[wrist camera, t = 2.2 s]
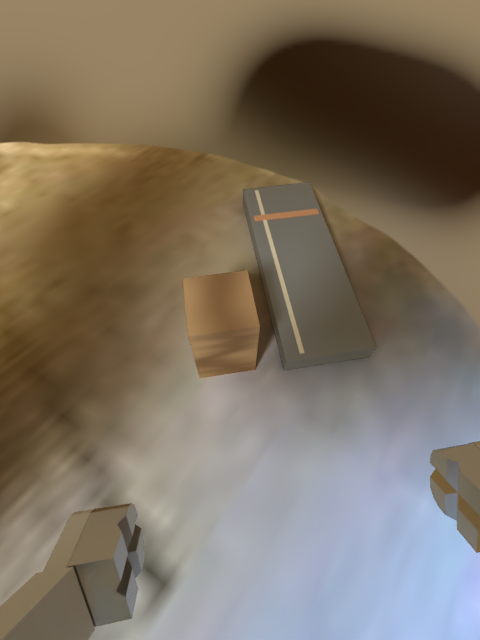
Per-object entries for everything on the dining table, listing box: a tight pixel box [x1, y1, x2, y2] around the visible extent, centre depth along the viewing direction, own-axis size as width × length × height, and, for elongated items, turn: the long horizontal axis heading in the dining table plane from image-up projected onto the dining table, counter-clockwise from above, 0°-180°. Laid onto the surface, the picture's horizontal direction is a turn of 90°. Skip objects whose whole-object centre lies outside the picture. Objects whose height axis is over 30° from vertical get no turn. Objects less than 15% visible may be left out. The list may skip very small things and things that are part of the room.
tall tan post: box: [183, 270, 260, 378], centre depth 28 cm, size 5×5×8 cm
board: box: [243, 182, 377, 370], centre depth 35 cm, size 8×22×2 cm, turn 9°
